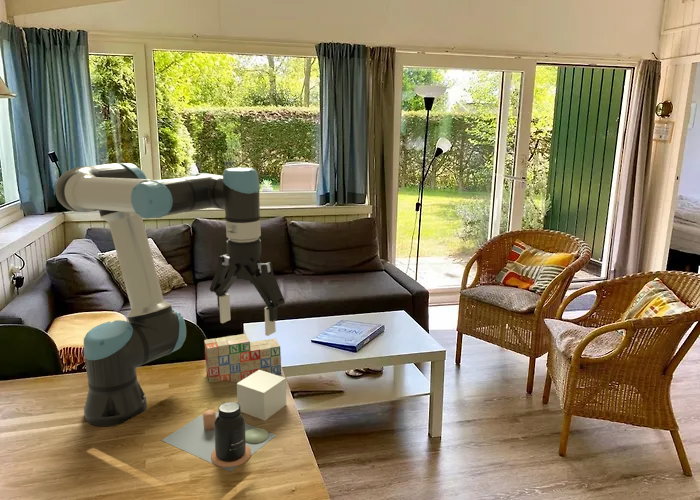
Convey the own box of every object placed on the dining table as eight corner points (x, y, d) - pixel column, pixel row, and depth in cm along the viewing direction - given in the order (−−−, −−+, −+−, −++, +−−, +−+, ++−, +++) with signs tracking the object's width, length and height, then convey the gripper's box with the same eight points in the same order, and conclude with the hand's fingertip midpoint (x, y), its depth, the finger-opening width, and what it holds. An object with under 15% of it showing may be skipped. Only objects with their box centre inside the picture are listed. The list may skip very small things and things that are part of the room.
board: (161, 444, 131) (160, 425, 130) (210, 413, 144) (209, 395, 143) (232, 477, 120) (231, 456, 119) (278, 440, 133) (277, 421, 132)
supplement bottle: (238, 465, 121) (237, 417, 118) (210, 460, 123) (207, 413, 120) (250, 447, 128) (249, 401, 125) (223, 442, 129) (221, 397, 126)
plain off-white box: (238, 414, 144) (236, 383, 142) (260, 399, 151) (259, 369, 149) (264, 424, 140) (263, 392, 137) (286, 408, 147) (285, 378, 145)
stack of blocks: (276, 365, 171) (275, 329, 168) (281, 374, 166) (280, 336, 162) (206, 377, 164) (203, 339, 160) (209, 387, 158) (206, 347, 155)
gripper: (190, 234, 125) (196, 321, 130) (277, 249, 113) (280, 345, 118) (214, 228, 131) (219, 311, 137) (299, 242, 119) (300, 333, 124)
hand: (247, 327), depth 127 cm, fingers open, 13 cm apart
